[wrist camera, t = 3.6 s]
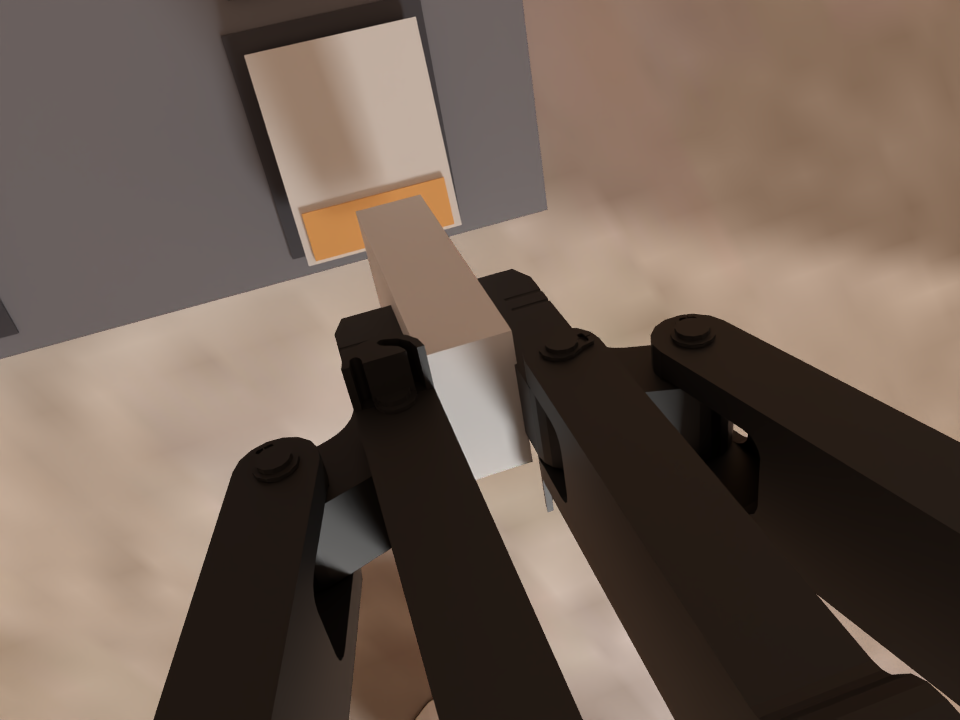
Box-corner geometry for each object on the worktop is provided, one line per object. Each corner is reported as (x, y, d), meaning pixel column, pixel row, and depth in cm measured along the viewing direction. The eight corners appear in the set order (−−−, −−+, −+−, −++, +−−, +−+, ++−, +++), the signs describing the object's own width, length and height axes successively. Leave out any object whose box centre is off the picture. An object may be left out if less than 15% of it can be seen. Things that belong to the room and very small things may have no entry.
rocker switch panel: (-223, 373, 22) (-283, 439, 19) (-531, -13, 17) (-671, 6, 14) (514, 178, 25) (550, 211, 23) (461, -196, 20) (499, -209, 17)
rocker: (306, 255, 21) (309, 267, 19) (245, 55, 19) (244, 55, 17) (451, 216, 21) (462, 225, 20) (406, 19, 19) (416, 16, 18)
